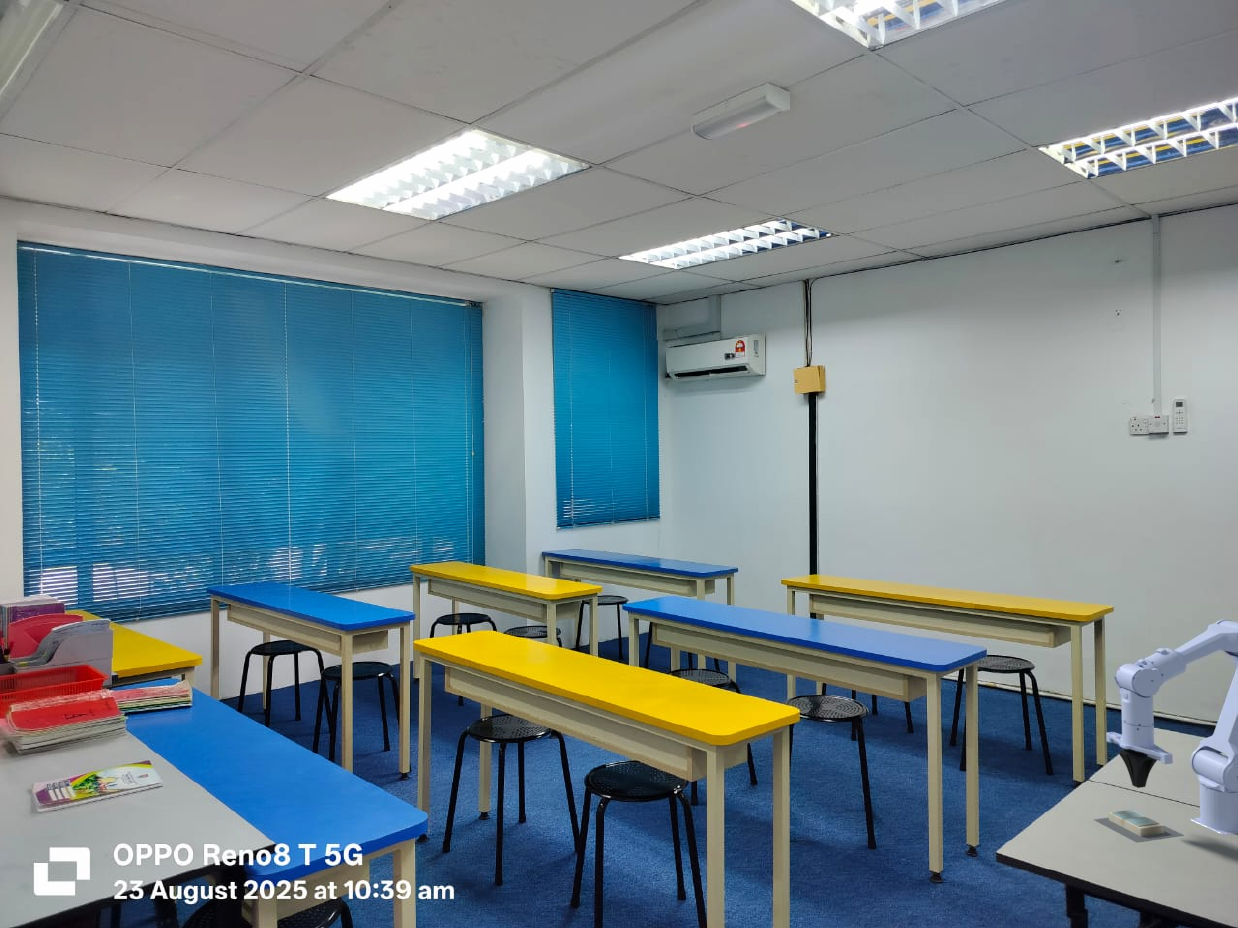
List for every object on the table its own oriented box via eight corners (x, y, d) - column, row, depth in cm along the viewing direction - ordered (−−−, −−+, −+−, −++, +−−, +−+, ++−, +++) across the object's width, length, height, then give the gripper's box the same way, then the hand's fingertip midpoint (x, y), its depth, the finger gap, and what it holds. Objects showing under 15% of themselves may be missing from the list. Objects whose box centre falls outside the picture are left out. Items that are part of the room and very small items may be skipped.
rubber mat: (1138, 814, 177) (1138, 813, 177) (1184, 836, 166) (1184, 835, 166) (1093, 821, 174) (1093, 819, 174) (1136, 844, 164) (1136, 842, 164)
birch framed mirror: (1164, 832, 167) (1131, 816, 175) (1163, 824, 167) (1131, 808, 175) (1140, 836, 166) (1108, 819, 174) (1140, 827, 166) (1108, 811, 174)
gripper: (1094, 713, 176) (1095, 775, 176) (1152, 734, 162) (1153, 801, 162) (1120, 711, 178) (1122, 772, 178) (1180, 731, 164) (1181, 797, 163)
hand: (1138, 786), depth 170 cm, fingers closed
